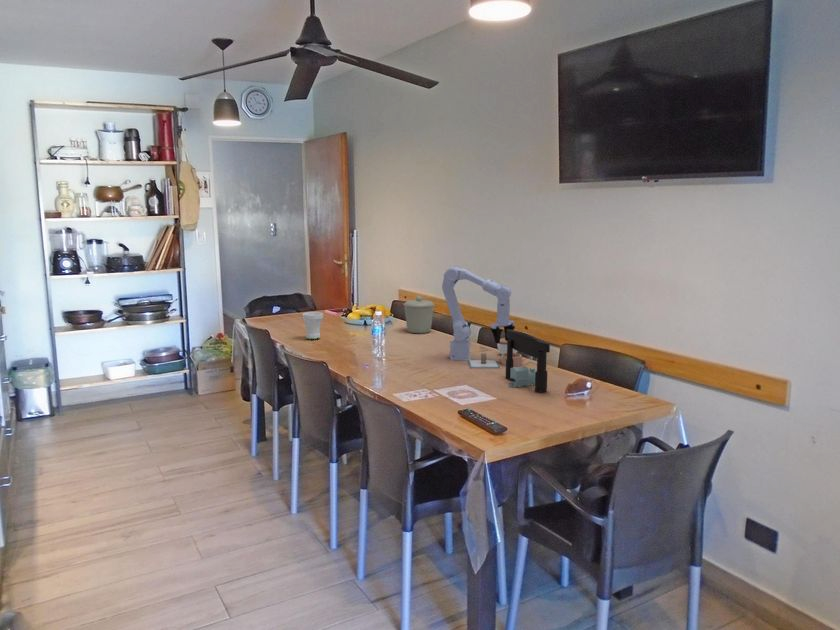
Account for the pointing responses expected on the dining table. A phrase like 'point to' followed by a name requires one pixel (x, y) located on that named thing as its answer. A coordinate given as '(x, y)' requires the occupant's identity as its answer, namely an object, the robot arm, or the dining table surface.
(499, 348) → the lidded jar
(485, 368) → the mat
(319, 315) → the cup
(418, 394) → the dining table surface
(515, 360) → the bowl
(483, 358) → the lid
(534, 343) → the black arch frame
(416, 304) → the canister
